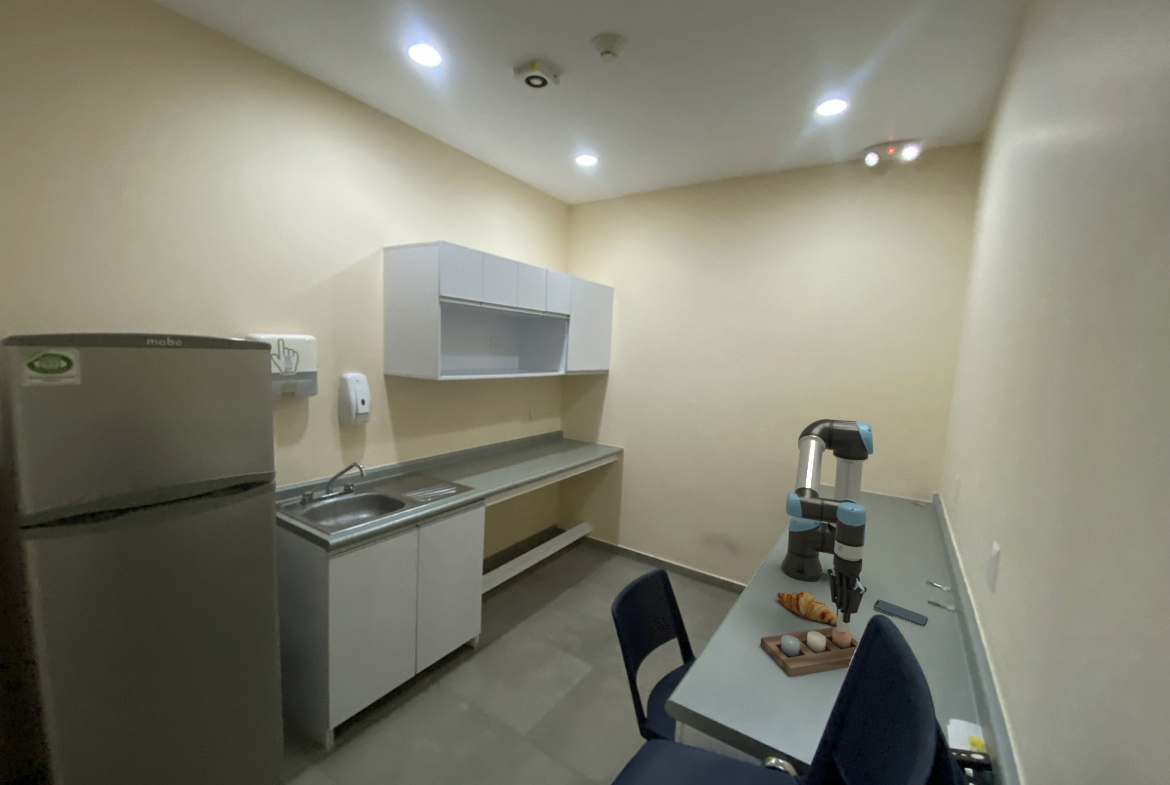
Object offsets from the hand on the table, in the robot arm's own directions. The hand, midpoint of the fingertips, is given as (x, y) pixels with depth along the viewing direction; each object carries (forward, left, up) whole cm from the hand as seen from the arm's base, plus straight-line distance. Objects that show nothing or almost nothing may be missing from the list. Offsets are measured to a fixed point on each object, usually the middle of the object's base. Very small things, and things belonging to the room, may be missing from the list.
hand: (842, 630), depth 142 cm
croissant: (-19, +3, -7) cm, 21 cm away
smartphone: (-12, +36, -7) cm, 38 cm away
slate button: (0, -18, -4) cm, 18 cm away
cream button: (0, -9, -4) cm, 10 cm away
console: (0, -9, -6) cm, 11 cm away
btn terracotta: (0, 0, -4) cm, 4 cm away
